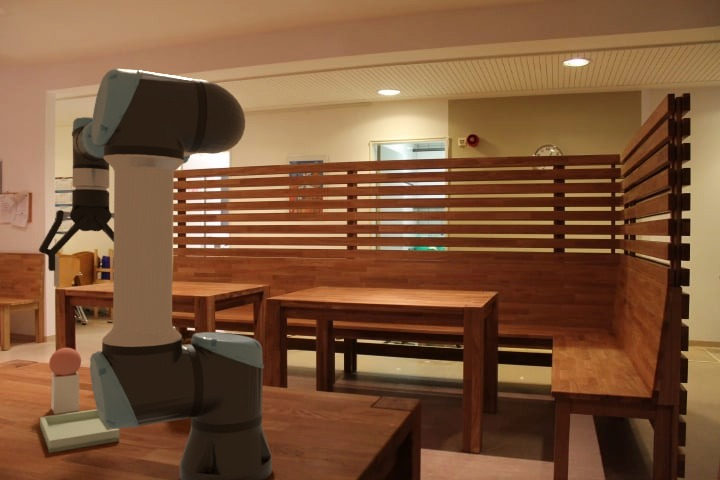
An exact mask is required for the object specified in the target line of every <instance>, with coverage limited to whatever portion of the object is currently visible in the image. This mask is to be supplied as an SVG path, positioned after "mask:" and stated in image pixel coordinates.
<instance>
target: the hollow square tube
mask: <svg viewBox="0 0 720 480" xmlns="http://www.w3.org/2000/svg"><path fill="white" fill-rule="evenodd" d="M50 396H51V397H50V399H51V400H50V401H51V404H50V405H51V406H50V407H51V411H52V412H53V415H59V414H66V413H73V412H80V374H79V372H78V371H77V372H76V373H75V374H73V375H68V376H57V375H55V374H54V373H53V372H51V395H50Z"/></svg>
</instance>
